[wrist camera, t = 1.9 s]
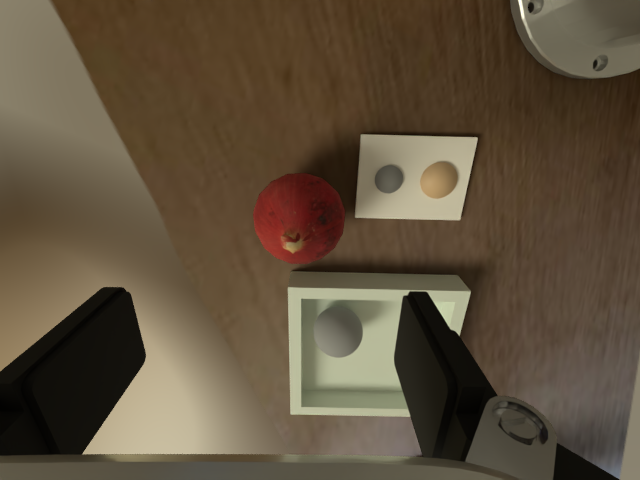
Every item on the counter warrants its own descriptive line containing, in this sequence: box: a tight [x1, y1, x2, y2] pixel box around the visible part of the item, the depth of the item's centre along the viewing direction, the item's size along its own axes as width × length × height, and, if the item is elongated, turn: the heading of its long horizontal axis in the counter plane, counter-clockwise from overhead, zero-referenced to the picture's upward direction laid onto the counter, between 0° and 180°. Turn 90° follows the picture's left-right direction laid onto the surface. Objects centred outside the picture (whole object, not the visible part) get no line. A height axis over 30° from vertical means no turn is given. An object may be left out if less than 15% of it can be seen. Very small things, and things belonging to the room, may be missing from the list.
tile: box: [355, 134, 478, 220], centre depth 22 cm, size 6×8×1 cm
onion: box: [253, 173, 345, 264], centre depth 20 cm, size 6×6×8 cm
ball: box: [313, 306, 363, 358], centre depth 25 cm, size 4×4×4 cm
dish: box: [288, 271, 471, 417], centre depth 27 cm, size 14×14×2 cm
